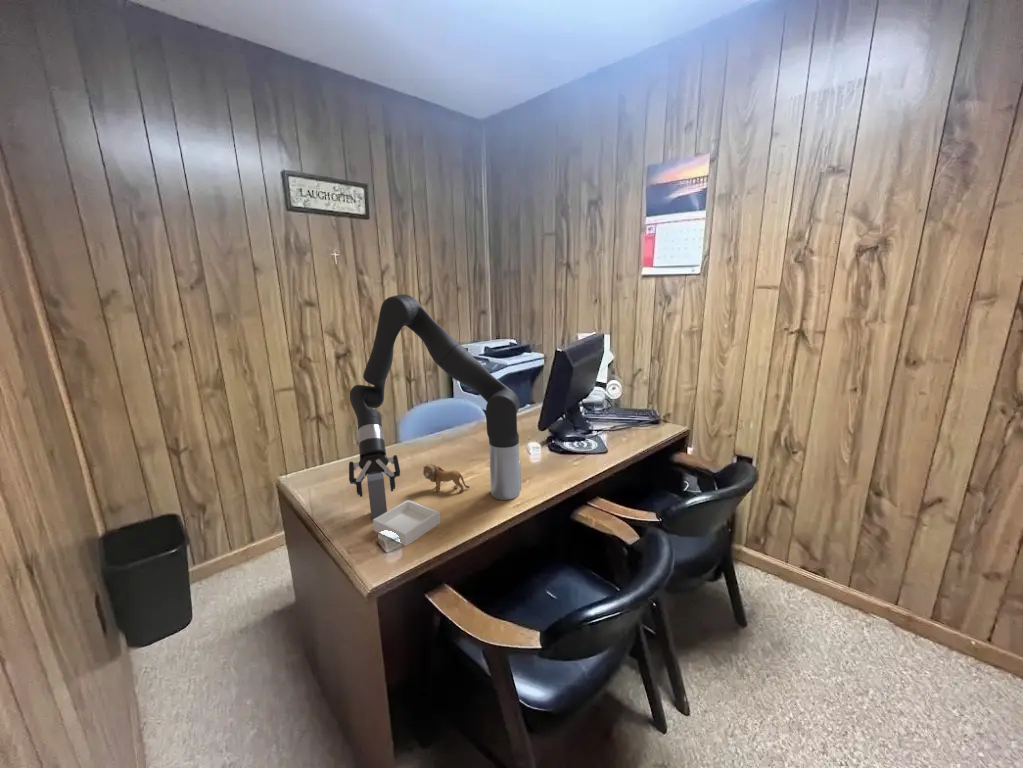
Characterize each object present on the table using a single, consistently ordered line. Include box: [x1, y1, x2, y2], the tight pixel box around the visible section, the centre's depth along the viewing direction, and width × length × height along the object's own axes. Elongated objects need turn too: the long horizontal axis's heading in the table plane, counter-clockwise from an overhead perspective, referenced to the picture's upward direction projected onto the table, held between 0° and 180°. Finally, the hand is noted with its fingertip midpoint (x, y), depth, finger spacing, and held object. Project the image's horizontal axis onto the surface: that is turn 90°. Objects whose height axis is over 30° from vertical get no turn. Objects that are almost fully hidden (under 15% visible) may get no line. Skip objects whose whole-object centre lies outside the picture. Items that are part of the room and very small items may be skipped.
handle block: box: [366, 472, 388, 521], centre depth 121 cm, size 4×4×12 cm
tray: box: [372, 499, 441, 547], centre depth 116 cm, size 13×13×4 cm
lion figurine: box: [422, 463, 470, 494], centre depth 136 cm, size 15×5×9 cm, turn 91°
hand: (376, 493), depth 121 cm, fingers open, 8 cm apart
